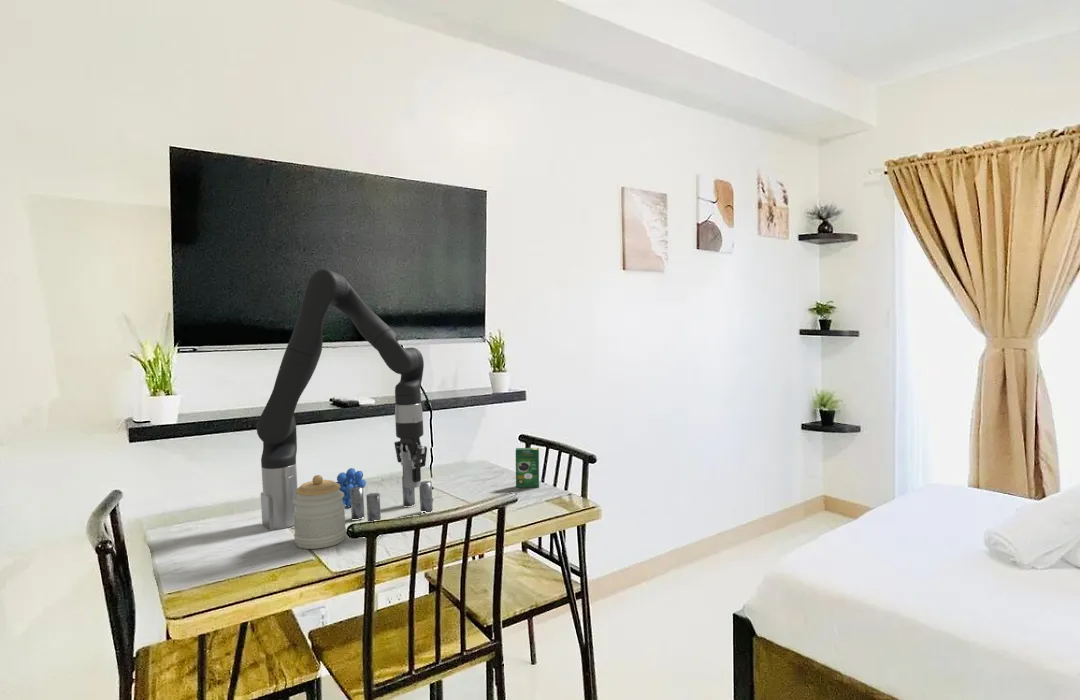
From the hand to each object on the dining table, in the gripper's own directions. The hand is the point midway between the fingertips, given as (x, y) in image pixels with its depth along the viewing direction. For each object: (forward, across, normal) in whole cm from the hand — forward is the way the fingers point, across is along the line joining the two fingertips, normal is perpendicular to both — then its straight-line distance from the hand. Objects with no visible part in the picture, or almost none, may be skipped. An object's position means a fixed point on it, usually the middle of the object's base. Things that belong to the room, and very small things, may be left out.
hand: (412, 479), depth 181 cm
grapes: (+13, -31, -5) cm, 34 cm away
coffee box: (+13, -5, +47) cm, 49 cm away
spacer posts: (+13, -12, 0) cm, 17 cm away
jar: (+13, -7, -24) cm, 28 cm away
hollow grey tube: (+2, 0, 0) cm, 2 cm away
